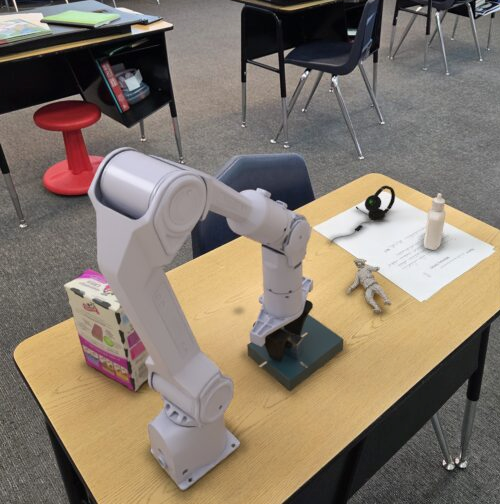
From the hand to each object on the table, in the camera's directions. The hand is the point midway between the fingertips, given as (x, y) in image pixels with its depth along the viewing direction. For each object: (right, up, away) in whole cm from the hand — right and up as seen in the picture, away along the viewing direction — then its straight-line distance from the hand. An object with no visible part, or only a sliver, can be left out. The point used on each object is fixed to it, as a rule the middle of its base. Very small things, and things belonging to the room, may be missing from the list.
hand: (284, 348), depth 86 cm
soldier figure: (+15, +6, +16) cm, 23 cm away
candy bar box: (-26, -3, 0) cm, 26 cm away
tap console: (+2, -2, +3) cm, 4 cm away
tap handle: (0, 0, 0) cm, 0 cm away
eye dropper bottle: (+30, +14, +29) cm, 45 cm away
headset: (+15, +19, +36) cm, 44 cm away
